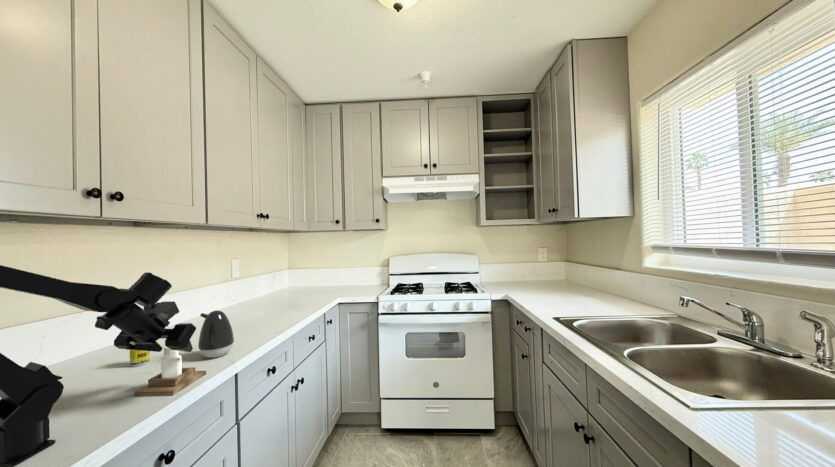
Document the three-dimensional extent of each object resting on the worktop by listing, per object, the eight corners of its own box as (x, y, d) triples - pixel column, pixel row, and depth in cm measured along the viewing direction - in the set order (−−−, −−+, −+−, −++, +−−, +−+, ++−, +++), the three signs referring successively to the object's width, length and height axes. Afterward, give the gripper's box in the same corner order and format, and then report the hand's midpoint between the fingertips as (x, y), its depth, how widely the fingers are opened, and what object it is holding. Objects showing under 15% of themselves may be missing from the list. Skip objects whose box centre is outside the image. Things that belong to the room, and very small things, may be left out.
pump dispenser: (212, 349, 111) (211, 307, 111) (240, 349, 111) (239, 306, 111) (190, 361, 101) (189, 314, 101) (221, 360, 100) (220, 314, 100)
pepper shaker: (180, 381, 84) (179, 346, 84) (161, 385, 82) (160, 349, 82) (182, 376, 87) (181, 342, 87) (164, 380, 85) (163, 345, 85)
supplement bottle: (137, 367, 97) (137, 340, 97) (125, 366, 98) (125, 340, 98) (153, 361, 102) (152, 335, 102) (142, 360, 103) (141, 335, 103)
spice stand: (173, 395, 79) (173, 383, 79) (134, 396, 79) (134, 384, 79) (206, 374, 91) (206, 363, 91) (172, 374, 91) (172, 364, 91)
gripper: (189, 293, 80) (221, 323, 91) (124, 294, 82) (163, 323, 93) (161, 333, 72) (201, 361, 83) (90, 333, 74) (138, 360, 85)
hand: (176, 350), depth 86 cm, fingers open, 9 cm apart
